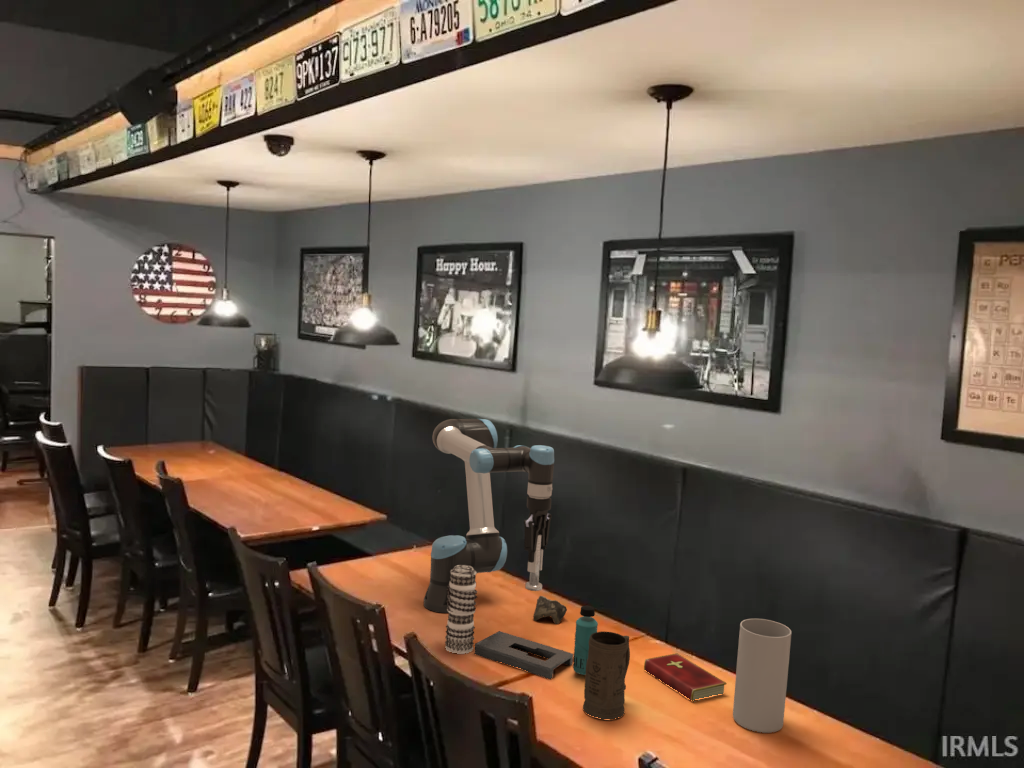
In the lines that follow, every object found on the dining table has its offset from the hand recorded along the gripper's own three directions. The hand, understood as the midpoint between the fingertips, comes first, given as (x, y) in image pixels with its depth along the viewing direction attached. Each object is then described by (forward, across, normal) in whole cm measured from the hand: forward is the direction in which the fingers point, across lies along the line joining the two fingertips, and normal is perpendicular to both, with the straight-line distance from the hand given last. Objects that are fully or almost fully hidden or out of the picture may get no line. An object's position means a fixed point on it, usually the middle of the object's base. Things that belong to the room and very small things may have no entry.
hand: (534, 570), depth 254 cm
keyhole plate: (+22, -14, -6) cm, 27 cm away
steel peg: (+6, 0, 0) cm, 6 cm away
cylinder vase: (+22, -7, -73) cm, 77 cm away
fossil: (+23, +20, +4) cm, 30 cm away
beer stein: (+22, -25, -39) cm, 52 cm away
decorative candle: (+22, -20, +13) cm, 33 cm away
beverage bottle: (+22, -12, -25) cm, 36 cm away
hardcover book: (+23, +2, -50) cm, 54 cm away
